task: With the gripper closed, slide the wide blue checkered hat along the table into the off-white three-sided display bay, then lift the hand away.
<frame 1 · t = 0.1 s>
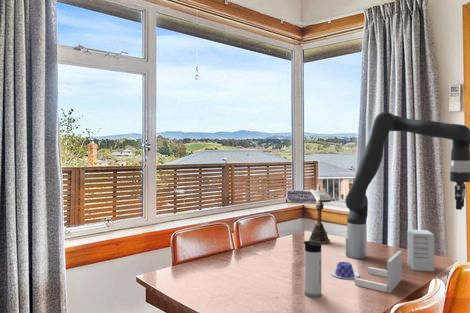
hand: (459, 208, 154), 29 cm above the table, tool pointing down, fingers open, 8 cm apart
display bay: (375, 281, 147), on the table
supplement box: (420, 268, 164), on the table
blue checkered hat: (344, 275, 155), on the table
brown tall flared piece: (322, 242, 209), on the table
travel mug: (312, 294, 134), on the table
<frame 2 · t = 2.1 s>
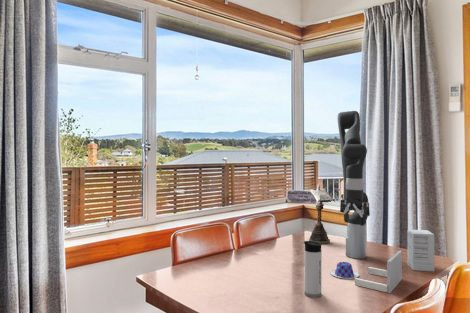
hand: (354, 223, 160), 21 cm above the table, tool pointing down, fingers open, 8 cm apart
nothing on the table moved.
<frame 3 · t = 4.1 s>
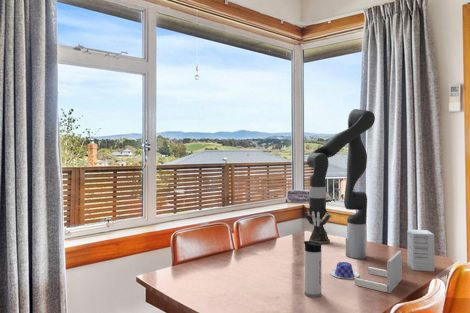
hand: (317, 234, 163), 16 cm above the table, tool pointing down, fingers closed
nothing on the table moved.
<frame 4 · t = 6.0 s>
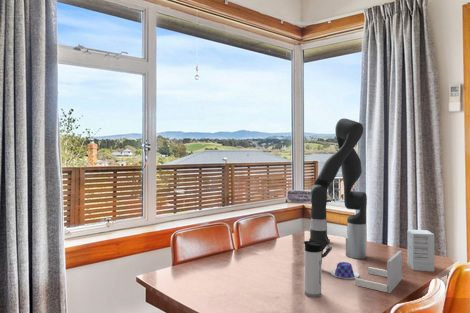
hand: (318, 265, 163), 1 cm above the table, tool pointing down, fingers closed
nothing on the table moved.
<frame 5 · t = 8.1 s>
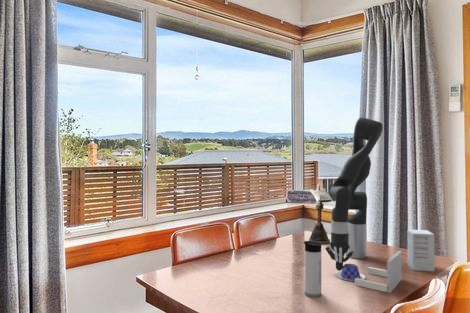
hand: (339, 270, 156), 2 cm above the table, tool pointing down, fingers closed
blue checkered hat: (350, 277, 153), on the table, touching gripper
everything else where it was.
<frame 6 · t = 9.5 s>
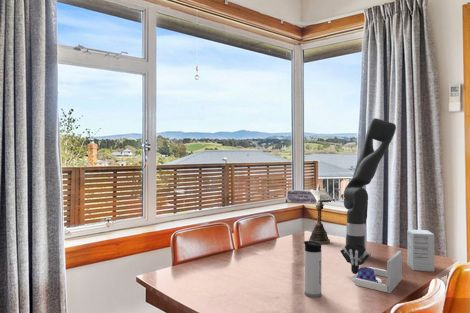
hand: (355, 273, 152), 2 cm above the table, tool pointing down, fingers closed
blue checkered hat: (366, 281, 148), on the table
everything else where it was.
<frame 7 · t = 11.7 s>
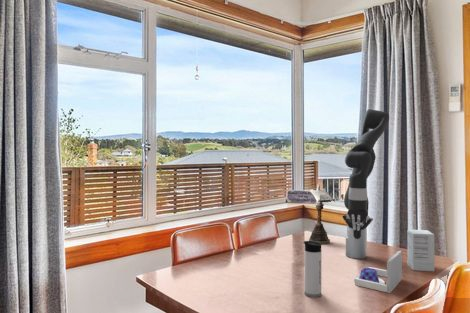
hand: (357, 238, 151), 17 cm above the table, tool pointing down, fingers closed
blue checkered hat: (369, 282, 147), on the table
everything else where it was.
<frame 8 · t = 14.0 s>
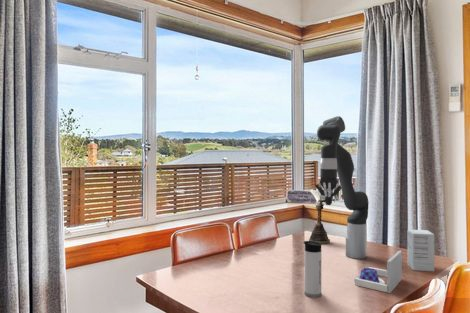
hand: (328, 204, 166), 29 cm above the table, tool pointing down, fingers closed
nothing on the table moved.
at the end: blue checkered hat inside the target area (2.4 cm from its centre), on the table; blue checkered hat tilted 0°; blue checkered hat moved 11.3 cm from its start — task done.
